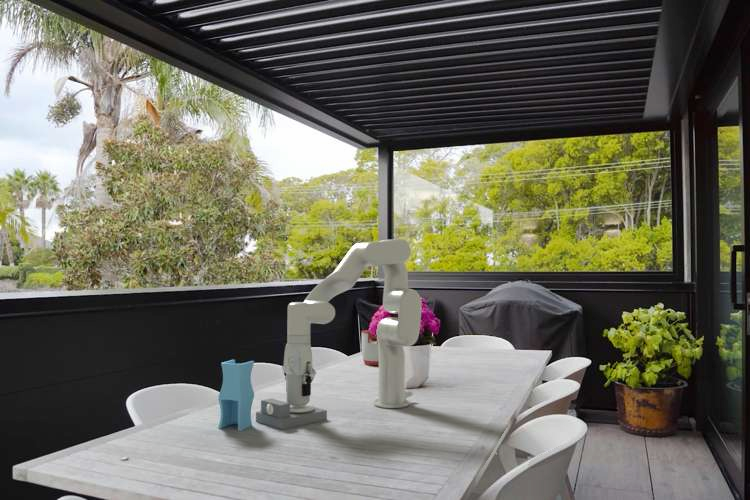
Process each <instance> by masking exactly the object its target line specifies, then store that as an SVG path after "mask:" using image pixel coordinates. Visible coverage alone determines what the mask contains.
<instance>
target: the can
mask: <svg viewBox="0 0 750 500" xmlns="http://www.w3.org/2000/svg"><path fill="white" fill-rule="evenodd" d="M289 369H290V368H289ZM305 374H307V372H305ZM307 377H308V376H305V378H306V379H307ZM286 381H287V392H286V402H287V403H290V405H291V406H304V405H307V404H309V402H310V401H311V399H310V397H311V395H309V396H302V384H304V383H303V380H302V376H297V374H296V373H295V372H294V369H290V370H289V371H288V372H287V380H286Z"/></svg>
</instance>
